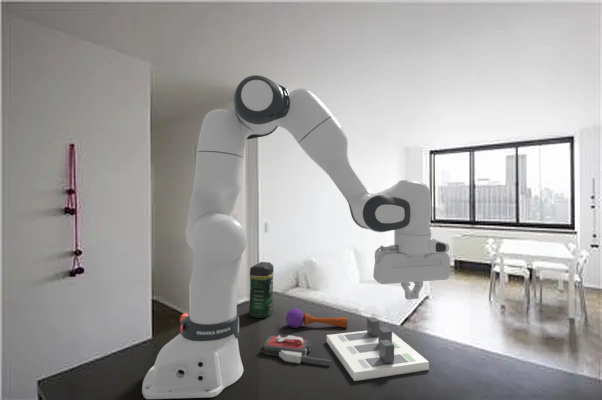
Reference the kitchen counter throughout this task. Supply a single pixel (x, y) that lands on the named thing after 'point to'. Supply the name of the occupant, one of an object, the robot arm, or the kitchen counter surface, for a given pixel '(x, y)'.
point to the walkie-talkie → (290, 349)
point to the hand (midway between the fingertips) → (411, 298)
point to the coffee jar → (261, 290)
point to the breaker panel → (374, 356)
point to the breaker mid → (385, 334)
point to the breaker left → (373, 326)
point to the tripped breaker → (386, 351)
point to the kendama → (311, 319)
